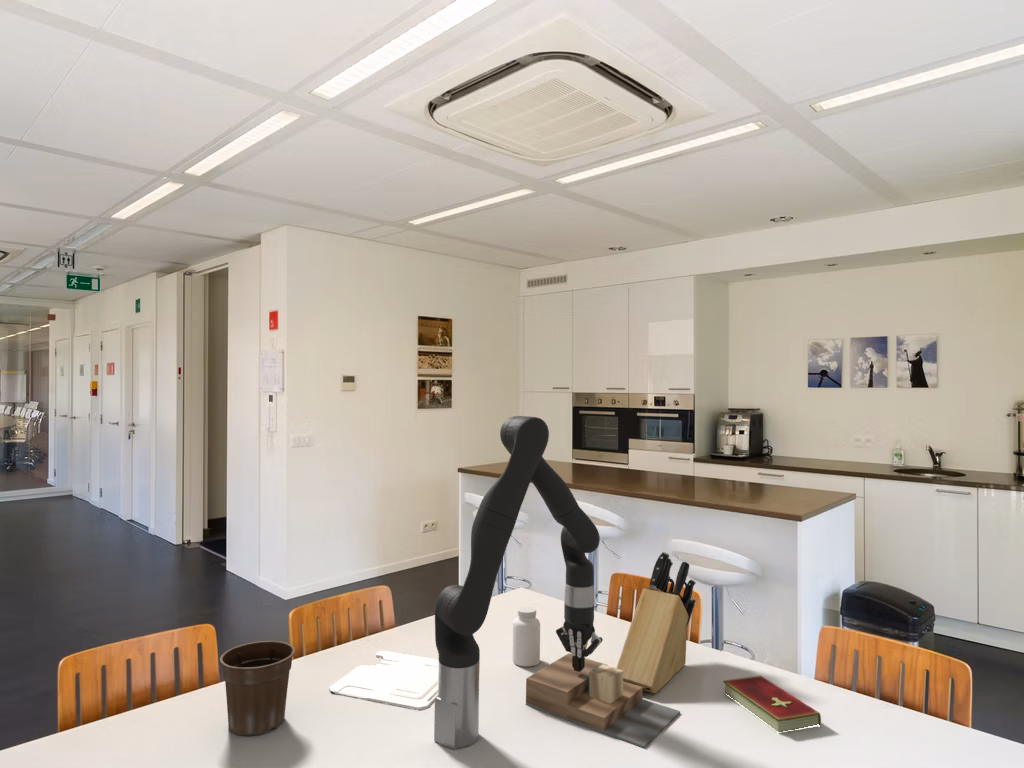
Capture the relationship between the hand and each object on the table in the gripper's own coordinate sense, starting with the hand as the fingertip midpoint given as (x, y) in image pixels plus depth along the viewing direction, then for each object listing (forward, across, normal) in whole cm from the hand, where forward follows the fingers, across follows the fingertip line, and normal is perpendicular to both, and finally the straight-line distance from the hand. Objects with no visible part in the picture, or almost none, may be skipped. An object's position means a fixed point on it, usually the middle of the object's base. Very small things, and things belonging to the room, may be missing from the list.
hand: (578, 670), depth 164 cm
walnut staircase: (+8, +7, 0) cm, 10 cm away
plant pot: (+8, -53, -56) cm, 78 cm away
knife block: (+8, +8, +30) cm, 32 cm away
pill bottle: (+8, -24, +11) cm, 27 cm away
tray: (+8, -44, -19) cm, 49 cm away
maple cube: (+1, +5, 0) cm, 5 cm away
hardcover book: (+8, +40, +25) cm, 48 cm away
